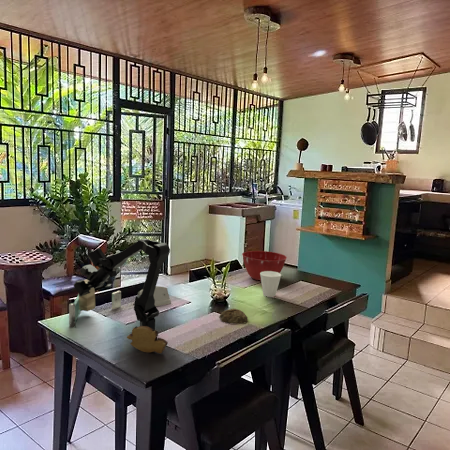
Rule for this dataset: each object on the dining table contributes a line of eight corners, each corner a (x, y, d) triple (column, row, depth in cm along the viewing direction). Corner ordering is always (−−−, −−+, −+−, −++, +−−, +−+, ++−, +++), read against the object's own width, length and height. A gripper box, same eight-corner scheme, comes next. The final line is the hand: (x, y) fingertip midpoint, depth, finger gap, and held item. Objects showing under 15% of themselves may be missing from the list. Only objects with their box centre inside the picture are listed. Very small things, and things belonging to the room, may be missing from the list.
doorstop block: (95, 308, 189) (94, 280, 188) (87, 311, 185) (86, 283, 183) (86, 306, 191) (86, 279, 190) (78, 309, 187) (78, 281, 185)
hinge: (141, 308, 200) (138, 288, 201) (137, 309, 204) (135, 289, 205) (171, 303, 209) (169, 284, 211) (167, 303, 213) (165, 284, 214)
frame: (72, 328, 173) (71, 305, 172) (68, 327, 175) (67, 304, 173) (121, 306, 201) (121, 287, 200) (118, 306, 202) (118, 286, 201)
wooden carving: (169, 351, 156) (169, 327, 155) (164, 357, 152) (165, 331, 150) (130, 345, 160) (130, 321, 159) (124, 350, 156) (124, 325, 154)
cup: (283, 297, 227) (285, 276, 225) (264, 299, 222) (266, 277, 220) (273, 291, 238) (274, 270, 236) (255, 292, 233) (256, 271, 231)
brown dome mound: (240, 313, 200) (240, 304, 200) (250, 323, 189) (251, 312, 188) (215, 316, 196) (216, 306, 195) (224, 326, 184) (225, 315, 184)
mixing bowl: (263, 270, 283) (264, 248, 281) (294, 280, 262) (296, 257, 259) (232, 276, 265) (233, 253, 263) (263, 287, 244) (264, 262, 241)
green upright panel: (76, 324, 177) (76, 307, 176) (71, 324, 176) (71, 307, 175) (84, 306, 198) (84, 291, 197) (80, 306, 198) (79, 291, 197)
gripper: (107, 256, 191) (89, 275, 198) (76, 264, 175) (58, 284, 181) (120, 275, 189) (102, 294, 195) (90, 285, 172) (71, 305, 179)
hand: (84, 294), depth 188 cm, fingers closed on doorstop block, 5 cm apart
